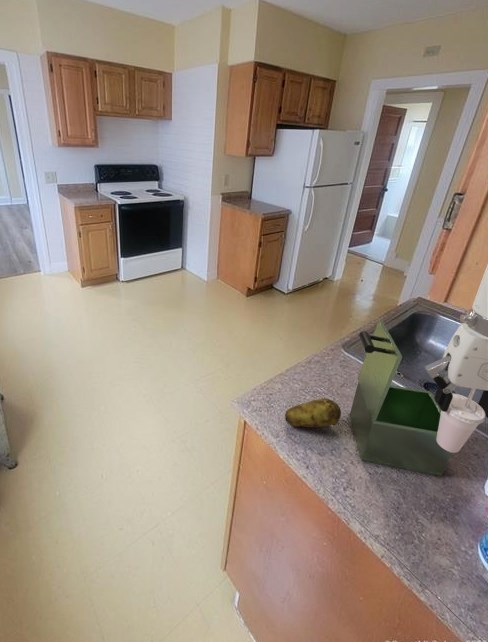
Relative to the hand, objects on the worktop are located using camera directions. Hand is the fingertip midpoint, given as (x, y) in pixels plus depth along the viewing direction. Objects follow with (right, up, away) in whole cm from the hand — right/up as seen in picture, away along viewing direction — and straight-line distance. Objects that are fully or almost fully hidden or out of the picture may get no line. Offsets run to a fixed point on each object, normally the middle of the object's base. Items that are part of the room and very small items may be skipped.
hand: (462, 408), depth 58 cm
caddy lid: (-8, +3, +14) cm, 16 cm away
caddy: (-1, -17, +20) cm, 27 cm away
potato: (-20, -15, +25) cm, 35 cm away
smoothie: (0, -9, +4) cm, 9 cm away
